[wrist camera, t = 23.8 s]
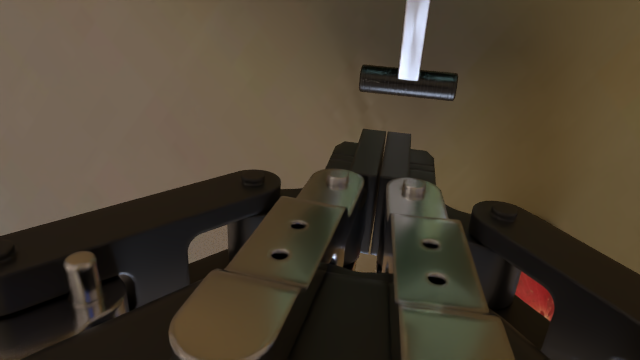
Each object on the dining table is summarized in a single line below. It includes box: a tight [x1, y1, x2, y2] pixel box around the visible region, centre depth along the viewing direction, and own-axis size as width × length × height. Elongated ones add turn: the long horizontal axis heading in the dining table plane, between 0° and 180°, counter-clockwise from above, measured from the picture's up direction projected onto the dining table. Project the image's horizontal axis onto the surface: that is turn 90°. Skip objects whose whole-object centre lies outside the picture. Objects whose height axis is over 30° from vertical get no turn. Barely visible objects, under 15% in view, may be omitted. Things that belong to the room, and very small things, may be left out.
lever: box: [359, 0, 458, 101], centre depth 22 cm, size 11×5×2 cm, turn 176°
